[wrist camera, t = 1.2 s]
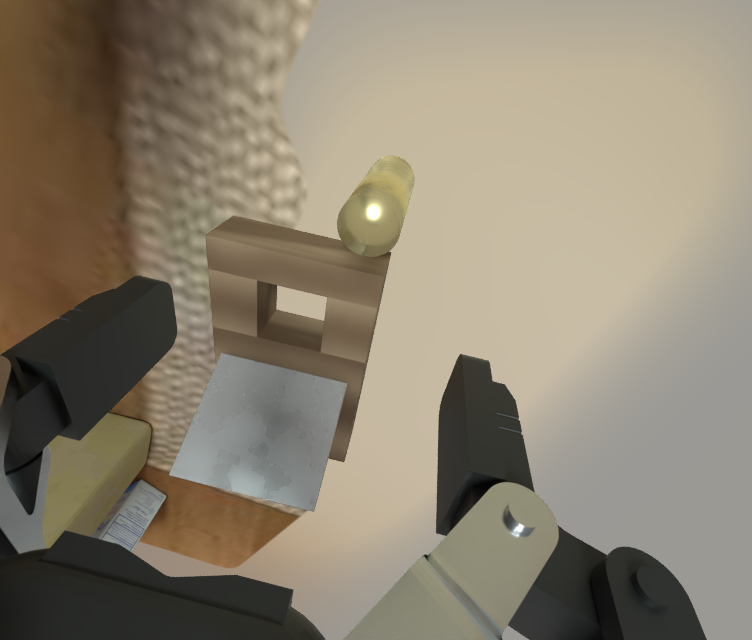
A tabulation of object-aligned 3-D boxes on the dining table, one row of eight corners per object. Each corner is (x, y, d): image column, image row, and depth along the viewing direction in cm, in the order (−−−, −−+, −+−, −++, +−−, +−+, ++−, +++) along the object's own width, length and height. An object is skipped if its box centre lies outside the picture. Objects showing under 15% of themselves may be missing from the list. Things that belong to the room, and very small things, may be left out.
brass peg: (373, 151, 25) (341, 188, 17) (419, 161, 25) (406, 203, 17) (365, 197, 26) (333, 249, 19) (408, 207, 26) (393, 263, 19)
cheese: (-28, 395, 47) (-197, 512, 35) (-42, 340, 42) (-248, 455, 29) (147, 465, 50) (48, 598, 37) (155, 422, 44) (42, 560, 32)
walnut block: (233, 215, 29) (205, 235, 25) (391, 252, 28) (383, 276, 25) (240, 401, 40) (221, 431, 37) (352, 429, 40) (344, 462, 36)
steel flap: (225, 357, 31) (221, 352, 30) (347, 386, 30) (347, 383, 30) (174, 476, 27) (168, 475, 26) (313, 511, 27) (313, 511, 26)
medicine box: (142, 477, 51) (92, 543, 44) (169, 495, 53) (125, 562, 46) (113, 492, 55) (63, 556, 48) (139, 508, 57) (94, 573, 49)
